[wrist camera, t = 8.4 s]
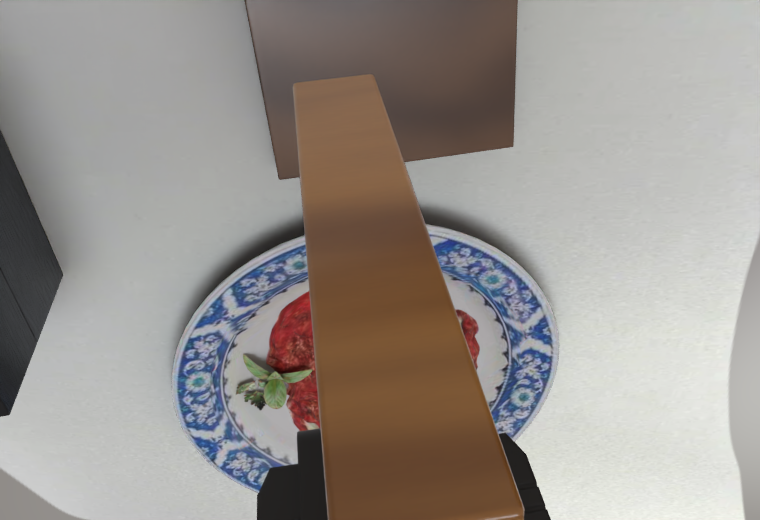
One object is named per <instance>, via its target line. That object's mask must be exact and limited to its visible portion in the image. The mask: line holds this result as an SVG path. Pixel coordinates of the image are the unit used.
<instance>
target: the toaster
mask: <svg viewBox="0 0 760 520" xmlns="http://www.w3.org/2000/svg"><path fill="white" fill-rule="evenodd" d="M62 276H63V274H62V271H61V269H60V267H59V265H58V262H57V260H56V258H55V255H54V253H53V251H52V248H51V246H50V244H49V242H48V239H47V237H46V235H45V232H44V230H43V228H42V225H41V223H40V221H39V219H38V216H37V214H36V212H35V209H34V207H33V205H32V202H31V200H30V198H29V196H28V193H27V191H26V189H25V186H24V184H23V182H22V179H21V177H20V175H19V173H18V170H17V168H16V166H15V163H14V161H13V159H12V156H11V154H10V152H9V150H8V147H7V145H6V143H5V140H4V138H3V136H2V133H1V131H0V417H1V416H7V415H10V412H11V410H12V407H13V405H14V402H15V399H16V397H17V394H18V392H19V389H20V386H21V384H22V381H23V378H24V376H25V373H26V371H27V368H28V365H29V363H30V360H31V358H32V355H33V352H34V350H35V347H36V344H37V342H38V339H39V337H40V334H41V331H42V329H43V326H44V324H45V321H46V318H47V316H48V313H49V310H50V308H51V305H52V303H53V300H54V297H55V295H56V292H57V290H58V287H59V284H60V282H61V279H62Z"/></svg>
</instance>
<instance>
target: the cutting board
mask: <svg viewBox="0 0 760 520" xmlns="http://www.w3.org/2000/svg"><path fill="white" fill-rule="evenodd" d="M517 3H518V0H245V5H246V10H247V15H248V21H249V26H250V31H251V36H252V42H253V47H254V52H255V57H256V62H257V68H258V73H259V78H260V83H261V88H262V94H263V99H264V104H265V109H266V115H267V120H268V125H269V130H270V135H271V141H272V146H273V151H274V156H275V161H276V167H277V172H278V177H279V179H280V180H282V179H289V178H296V177H300V171H299V159H298V146H297V134H296V122H295V109H294V97H293V85H294V84H295V83H298V82H307V81H316V80H324V79H333V78H342V77H350V76H359V75H368V74H371V75H374V77H375V80H376V83H377V86H378V89H379V91H380V94H381V97H382V100H383V103H384V106H385V109H386V112H387V114H388V117H389V120H390V123H391V126H392V129H393V132H394V135H395V137H396V140H397V143H398V146H399V149H400V152H401V155H402V158H403V161H404V162H409V161H416V160H423V159H430V158H437V157H444V156H451V155H458V154H465V153H472V152H479V151H486V150H494V149H501V148H508V147H513V142H514V108H515V73H516V38H517Z"/></svg>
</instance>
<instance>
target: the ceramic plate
mask: <svg viewBox="0 0 760 520" xmlns="http://www.w3.org/2000/svg"><path fill="white" fill-rule="evenodd" d="M426 227H427V230H428V233H429V235H430V238H431V241H432V244H433V247H434V250H435V253H436V256H437V258H438V261H439V264H440V267H441V270H442V273H443V276H444V279H445V281H446V284H447V287H448V290H449V293H450V296H451V299H452V302H453V305H454V307H455V310H456V313H457V316H458V319H459V322H460V325H461V328H462V330H463V333H464V336H465V339H466V342H467V345H468V348H469V351H470V353H471V356H472V359H473V362H474V365H475V368H476V371H477V374H478V376H479V379H480V382H481V385H482V388H483V391H484V394H485V397H486V400H487V402H488V405H489V408H490V411H491V414H492V417H493V420H494V423H495V425H496V428H497V431H498V434H500V433H506V434H507V435H508V436H509V437H510V438H511V439H512V440H513V441H514V442H515V441H516V440H517V439H518V438H519V437H520V436H521V434H522V433H523V432H524V431H525V430H526V429H527V427H528V426H529V425H530V424H531V423H532V421H533V420H534V418H535V417H536V415H537V414H538V413H539V411H540V409H541V408H542V406H543V404H544V402H545V400H546V399H547V396H548V394H549V392H550V389H551V387H552V384H553V381H554V378H555V375H556V370H557V365H558V359H559V337H558V329H557V325H556V320H555V317H554V314H553V312H552V309H551V306H550V304H549V302H548V300H547V298H546V297H545V295H544V293H543V291H542V290H541V289H540V287H539V286H538V285H537V283H536V282H535V280H534V279H533V278H532V277H531V276H530V275H529V274H528V273H527V272H526V271H525V270H524V269H523V268H522V267H521V266H520V265H519V264H518V263H517V262H515V261H514V260H513V259H512V258H511V257H509V256H508V255H506V254H505V253H503V252H502V251H500V250H499V249H497V248H495V247H494V246H492V245H490V244H488V243H486V242H484V241H482V240H480V239H478V238H475V237H472V236H470V235H467V234H465V233H462V232H459V231H455V230H451V229H448V228H444V227H440V226H434V225H429V224H426ZM172 396H173V403H174V407H175V411H176V414H177V417H178V419H179V422H180V424H181V426H182V429H183V431H184V433H185V434H186V436H187V438H188V439H189V441H190V442H191V443H192V445H193V446H194V447H195V449H196V450H197V451H198V452H199V453H200V454H201V455H202V457H203V458H204V459H205V460H206V461H207V462H208V463H209V464H210V465H212V466H213V467H214V468H215V469H217V470H218V471H219V472H221V473H222V474H224V475H225V476H227V477H228V478H230V479H231V480H233V481H235V482H237V483H239V484H240V485H242V486H244V487H246V488H248V489H251V490H253V491H255V492H257V493H259V491H260V489H261V486H262V484H263V482H264V480H265V478H266V476H267V473H268V471H269V469H270V468H273V467H280V466H286V465H293V464H298V452H297V432H298V431H305V430H312V429H319V428H320V417H319V405H318V392H317V380H316V368H315V356H314V343H313V331H312V319H311V306H310V294H309V282H308V269H307V257H306V245H305V235H303V236H301V237H298V238H295V239H292V240H290V241H287V242H284V243H281V244H279V245H278V246H276V247H274V248H272V249H270V250H268V251H266V252H264V253H263V254H261V255H259V256H257V257H255V258H253V259H252V260H250V261H249V262H247V263H246V264H244V265H243V266H241V267H240V268H238V269H237V270H236V271H234V272H233V273H232V274H231V275H230V276H228V277H227V278H226V279H225V280H224V281H222V282H221V283H220V284H219V285H218V286H217V287H216V288H215V289H214V290H213V291H212V292H211V293H210V294H209V295H208V296H207V297H206V299H205V300H204V301H203V302H202V304H201V305H200V306H199V308H198V309H197V310H196V312H195V313H194V315H193V316H192V318H191V320H190V321H189V323H188V324H187V326H186V328H185V331H184V333H183V335H182V337H181V339H180V342H179V344H178V348H177V351H176V354H175V357H174V364H173V371H172Z"/></svg>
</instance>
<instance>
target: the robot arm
mask: <svg viewBox="0 0 760 520" xmlns="http://www.w3.org/2000/svg"><path fill="white" fill-rule="evenodd" d="M499 437H500V440H501V443H502V446H503V448H504V451H505V454H506V457H507V460H508V463H509V466H510V469H511V472H512V474H513V477H514V480H515V483H516V486H517V489H518V492H519V495H520V497H521V500H522V503H523V506H524V509H525V511H524V520H551V519H550V517H549V514H548V511H547V510H546V508H545V503H544V501H543V498H542V495H541V493H540V490H539V487H537V484H536V479H535V477H534V474H533V471H532V469H531V466H530V463H529V461H528V458H527V455H526V454H525V453H524V452H523V451H522V450H521V449H520V447H519V446H518V445H517V444H516V443H515V442H514V441H513V440H512V439H511V438H510V437H509V436H508V435H507V434H506V433H500V434H499ZM297 452H298V464H293V465H286V466H280V467H273V468H270V469H269V471H268V473H267V476H266V478H265V480H264V482H263V484H262V486H261V489H260V491H259V493H258V495H257V520H328V516H327V503H326V491H325V479H324V466H323V454H322V442H321V429H320V428H319V429H312V430H305V431H298V432H297Z"/></svg>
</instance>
